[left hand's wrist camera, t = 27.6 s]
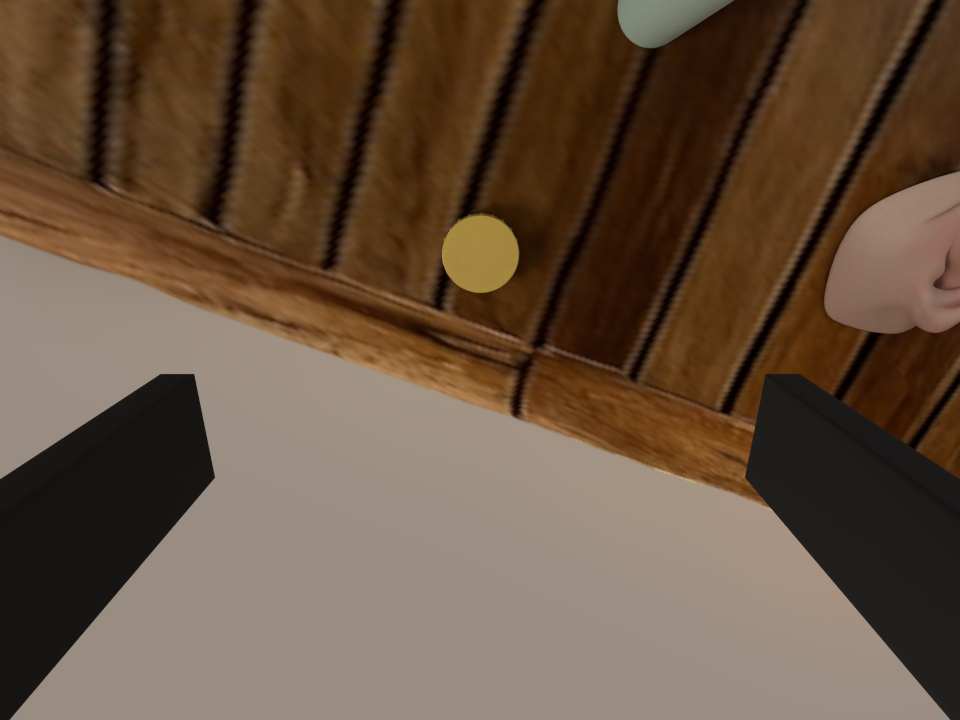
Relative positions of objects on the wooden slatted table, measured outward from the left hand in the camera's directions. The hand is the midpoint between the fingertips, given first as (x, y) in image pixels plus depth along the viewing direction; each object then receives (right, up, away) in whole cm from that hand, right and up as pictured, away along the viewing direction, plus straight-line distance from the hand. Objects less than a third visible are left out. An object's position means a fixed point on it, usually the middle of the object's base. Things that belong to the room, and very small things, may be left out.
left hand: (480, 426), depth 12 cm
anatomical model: (+32, +9, +27) cm, 43 cm away
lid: (0, +9, +26) cm, 28 cm away
